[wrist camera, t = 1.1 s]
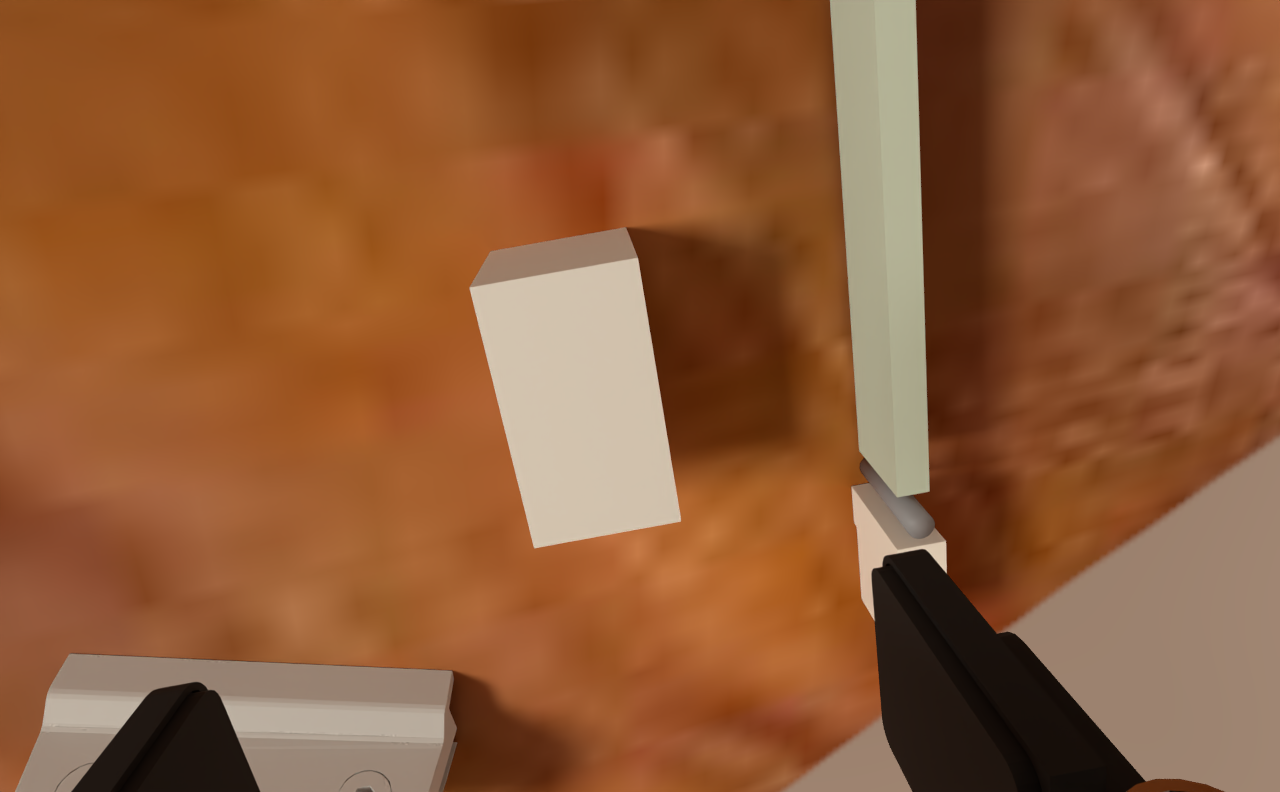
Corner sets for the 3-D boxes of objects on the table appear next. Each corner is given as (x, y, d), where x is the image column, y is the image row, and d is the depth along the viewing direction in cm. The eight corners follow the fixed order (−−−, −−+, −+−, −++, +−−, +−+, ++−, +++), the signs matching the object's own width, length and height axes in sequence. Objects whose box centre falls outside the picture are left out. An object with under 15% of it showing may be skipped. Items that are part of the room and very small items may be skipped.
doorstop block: (490, 250, 28) (469, 287, 22) (625, 227, 28) (637, 257, 23) (541, 468, 31) (534, 548, 26) (662, 446, 31) (681, 521, 26)
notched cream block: (794, -326, 23) (850, -438, 18) (854, -336, 23) (925, -450, 18) (859, 599, 35) (903, 676, 30) (898, 591, 35) (948, 667, 30)
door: (904, 470, 32) (959, 531, 28) (858, 478, 32) (905, 541, 28) (881, -86, 25) (950, -130, 20) (821, -76, 25) (877, -118, 20)
